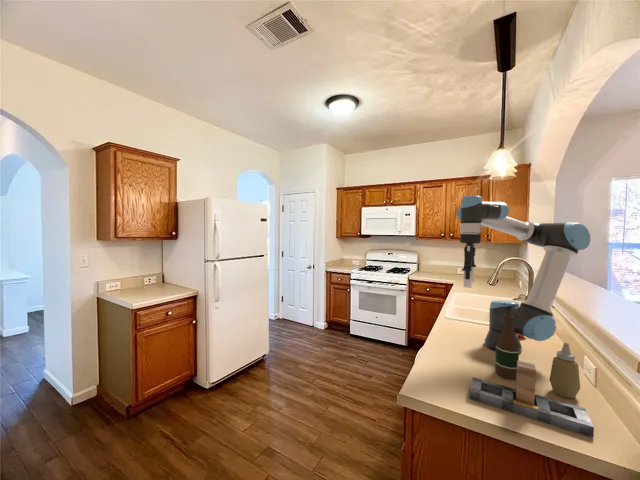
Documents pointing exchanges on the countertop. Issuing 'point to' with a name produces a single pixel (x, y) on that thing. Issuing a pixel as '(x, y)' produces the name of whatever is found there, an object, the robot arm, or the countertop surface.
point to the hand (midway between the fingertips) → (468, 284)
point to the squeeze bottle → (565, 373)
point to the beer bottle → (507, 351)
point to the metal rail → (533, 407)
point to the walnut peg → (525, 382)
